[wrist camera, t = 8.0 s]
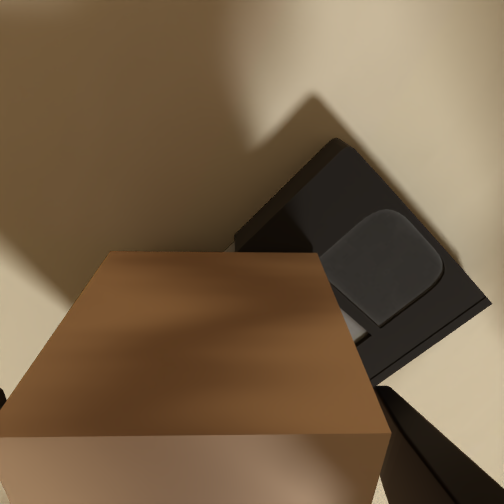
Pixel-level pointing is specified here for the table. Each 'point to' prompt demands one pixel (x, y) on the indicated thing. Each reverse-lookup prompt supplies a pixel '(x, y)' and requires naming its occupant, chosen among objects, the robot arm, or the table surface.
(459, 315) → the vhs tape
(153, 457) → the walnut cube
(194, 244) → the table surface
